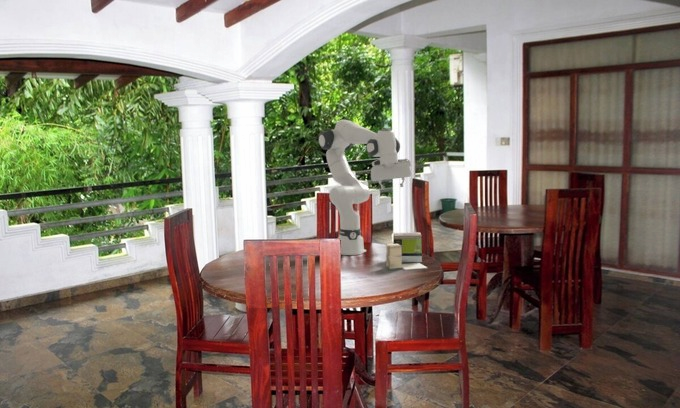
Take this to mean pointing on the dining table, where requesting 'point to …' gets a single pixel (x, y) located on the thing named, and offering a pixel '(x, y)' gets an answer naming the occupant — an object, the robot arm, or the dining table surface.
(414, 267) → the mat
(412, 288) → the dining table surface
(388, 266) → the beech block
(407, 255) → the tea box
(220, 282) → the dining table surface
